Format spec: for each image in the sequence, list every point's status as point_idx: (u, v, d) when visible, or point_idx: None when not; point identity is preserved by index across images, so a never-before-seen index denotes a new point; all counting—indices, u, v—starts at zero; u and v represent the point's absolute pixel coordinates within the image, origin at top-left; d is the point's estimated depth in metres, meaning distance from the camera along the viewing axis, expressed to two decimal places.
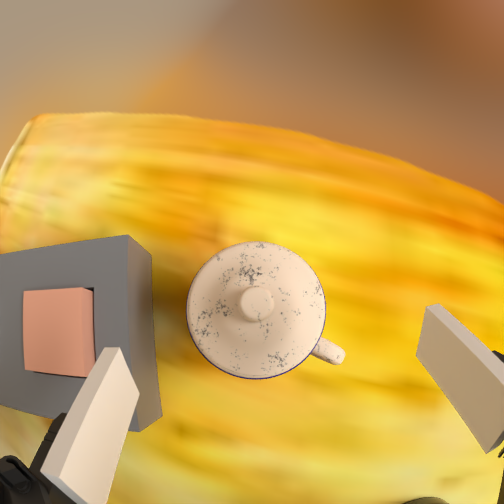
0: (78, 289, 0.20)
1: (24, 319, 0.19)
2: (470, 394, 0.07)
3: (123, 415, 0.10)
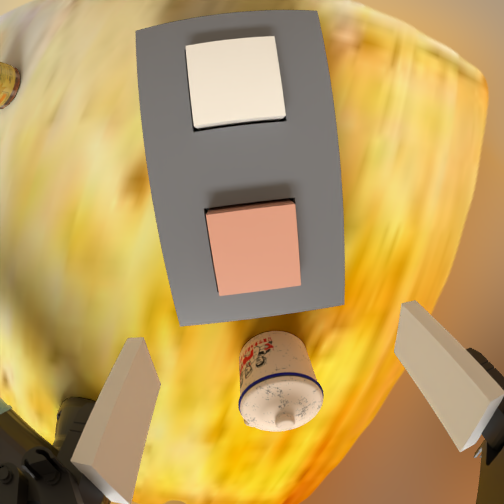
0: (299, 281, 0.25)
1: (262, 211, 0.23)
2: (443, 391, 0.08)
3: (147, 404, 0.10)
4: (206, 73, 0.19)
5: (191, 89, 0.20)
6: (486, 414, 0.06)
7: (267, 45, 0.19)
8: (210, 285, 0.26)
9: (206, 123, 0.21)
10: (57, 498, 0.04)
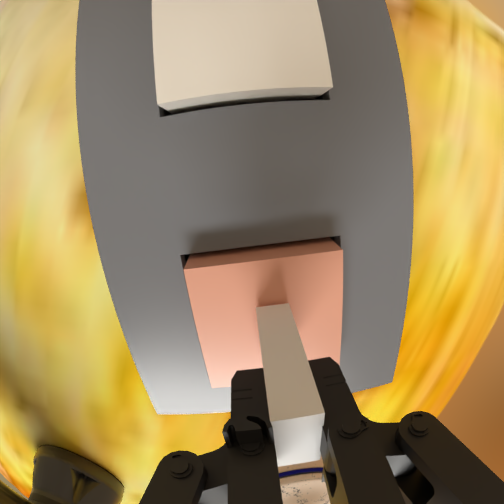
0: None
1: (286, 263, 0.13)
2: None
3: None
4: (184, 11, 0.09)
5: (155, 39, 0.09)
6: (304, 430, 0.07)
7: None
8: (197, 369, 0.16)
9: (181, 98, 0.10)
10: (253, 471, 0.06)
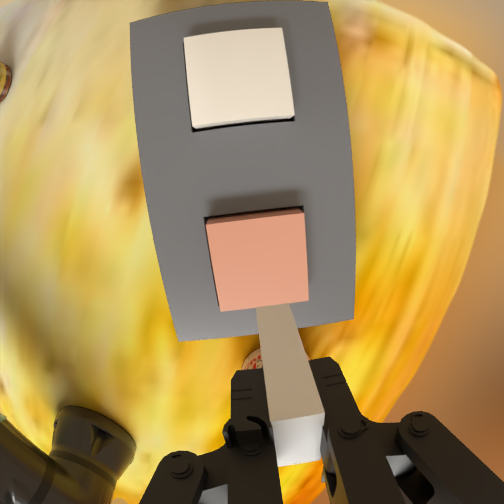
0: (306, 296, 0.23)
1: (268, 221, 0.21)
2: None
3: None
4: (206, 67, 0.17)
5: (189, 85, 0.18)
6: (304, 430, 0.07)
7: (274, 37, 0.17)
8: (210, 299, 0.24)
9: (206, 123, 0.19)
10: (253, 471, 0.06)
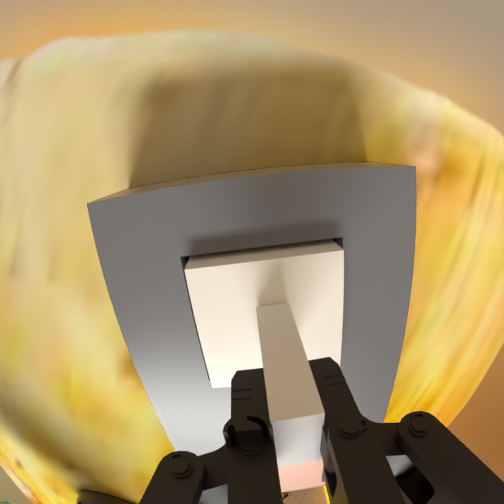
0: (324, 482, 0.19)
1: None
2: None
3: None
4: (225, 321, 0.14)
5: (203, 344, 0.14)
6: (304, 430, 0.07)
7: (329, 270, 0.13)
8: None
9: (230, 385, 0.15)
10: (253, 471, 0.06)
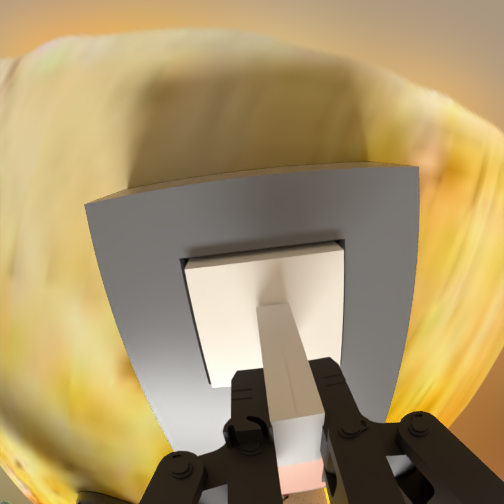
0: (325, 485, 0.18)
1: None
2: None
3: None
4: (225, 321, 0.14)
5: (204, 344, 0.14)
6: (304, 430, 0.07)
7: (329, 270, 0.13)
8: None
9: (230, 385, 0.15)
10: (253, 471, 0.06)
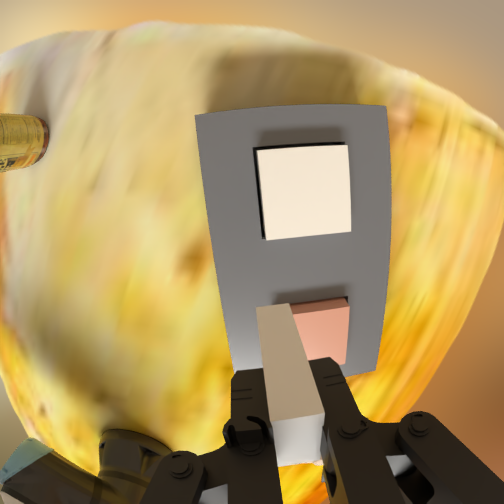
0: (343, 361, 0.28)
1: (322, 313, 0.26)
2: None
3: None
4: (279, 185, 0.22)
5: (264, 202, 0.22)
6: (304, 430, 0.07)
7: (340, 156, 0.21)
8: None
9: (278, 238, 0.23)
10: (253, 471, 0.06)
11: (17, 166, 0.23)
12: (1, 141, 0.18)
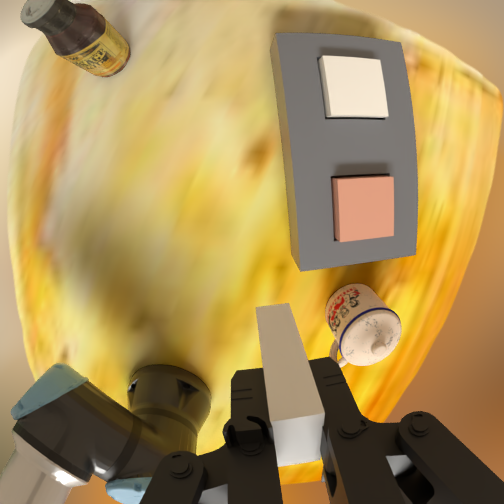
0: (392, 233, 0.32)
1: (374, 180, 0.30)
2: None
3: None
4: (338, 78, 0.27)
5: (329, 88, 0.27)
6: (304, 430, 0.07)
7: (376, 65, 0.26)
8: (329, 235, 0.34)
9: (339, 114, 0.28)
10: (253, 471, 0.06)
11: (105, 67, 0.27)
12: (108, 33, 0.22)
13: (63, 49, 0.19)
